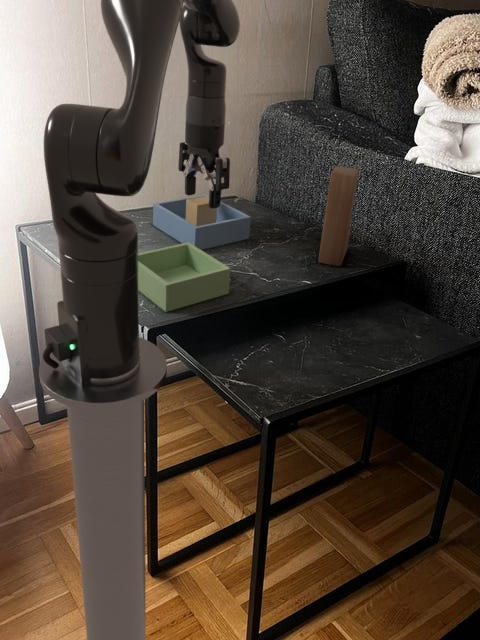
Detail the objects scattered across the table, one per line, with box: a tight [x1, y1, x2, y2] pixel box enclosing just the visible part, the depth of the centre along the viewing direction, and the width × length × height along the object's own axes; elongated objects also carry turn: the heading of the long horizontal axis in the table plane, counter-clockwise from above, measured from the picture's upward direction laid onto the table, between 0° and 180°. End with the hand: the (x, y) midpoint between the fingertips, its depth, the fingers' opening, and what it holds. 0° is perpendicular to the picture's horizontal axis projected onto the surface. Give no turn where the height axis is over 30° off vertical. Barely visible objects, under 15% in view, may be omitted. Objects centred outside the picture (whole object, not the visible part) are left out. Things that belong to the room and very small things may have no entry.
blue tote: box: [152, 193, 252, 251], centre depth 126 cm, size 14×16×5 cm
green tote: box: [138, 242, 231, 313], centre depth 104 cm, size 13×13×5 cm
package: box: [186, 196, 217, 226], centre depth 126 cm, size 5×4×6 cm
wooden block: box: [318, 165, 360, 267], centre depth 117 cm, size 9×4×18 cm, turn 163°
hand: (201, 201), depth 124 cm, fingers open, 8 cm apart
